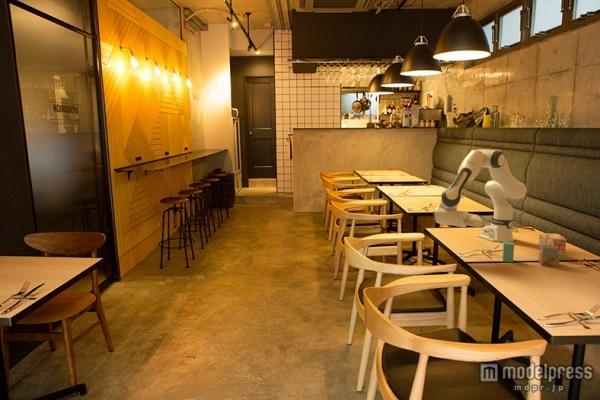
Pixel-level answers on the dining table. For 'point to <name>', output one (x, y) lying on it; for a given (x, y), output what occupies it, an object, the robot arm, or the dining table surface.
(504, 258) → the teal pillar
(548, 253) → the tower top
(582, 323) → the dining table surface
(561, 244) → the stack of blocks
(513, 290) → the dining table surface
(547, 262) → the tower base
